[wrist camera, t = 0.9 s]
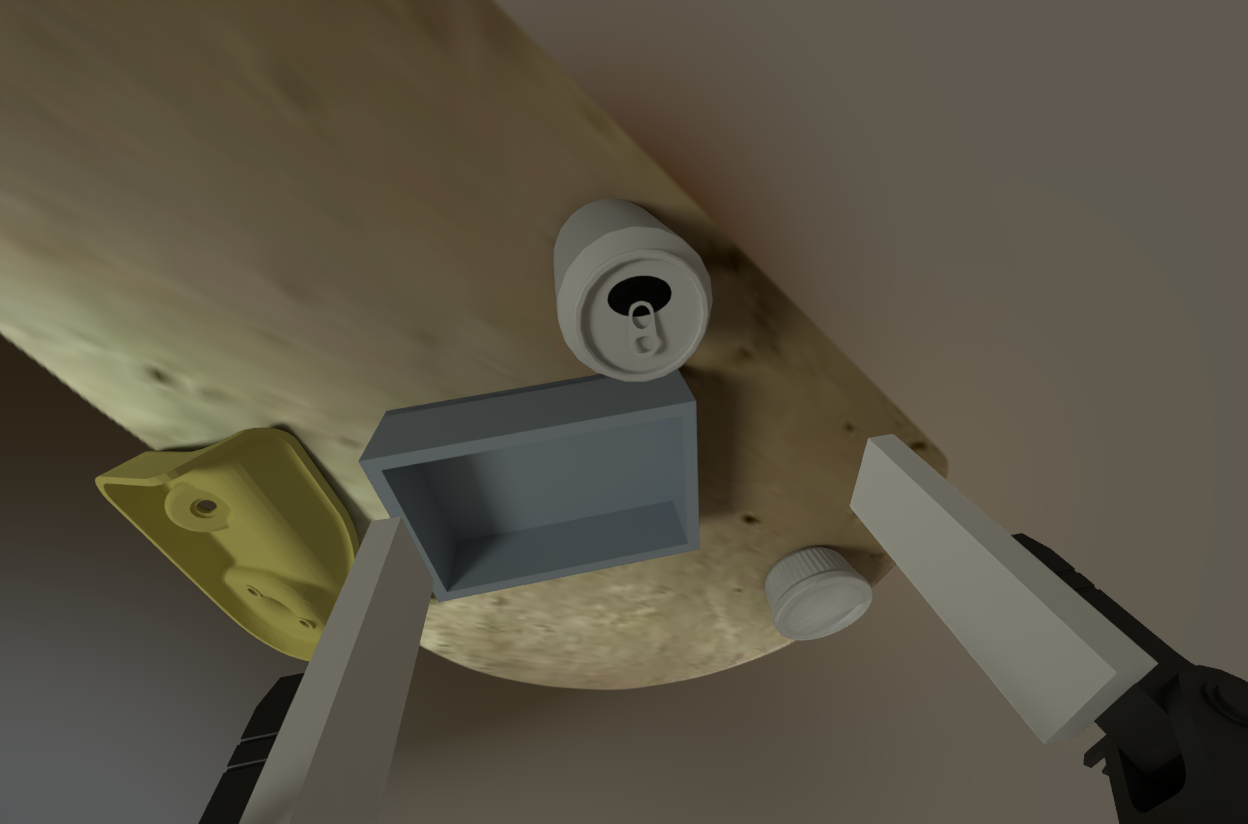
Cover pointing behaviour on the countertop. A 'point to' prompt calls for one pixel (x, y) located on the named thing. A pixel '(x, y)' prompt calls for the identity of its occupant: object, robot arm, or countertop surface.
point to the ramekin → (815, 593)
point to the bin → (541, 480)
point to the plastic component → (246, 530)
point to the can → (629, 292)
